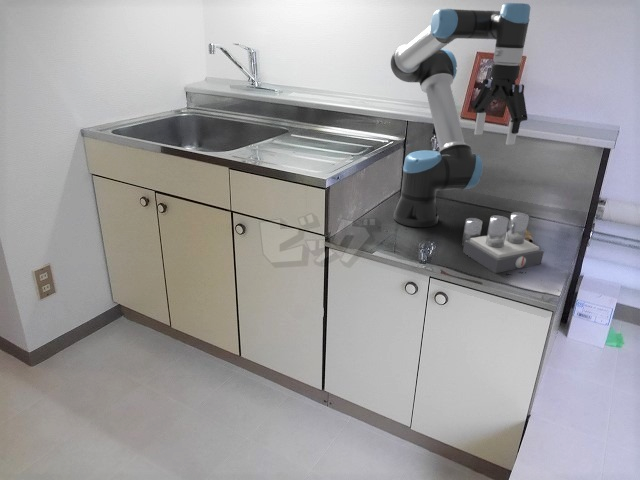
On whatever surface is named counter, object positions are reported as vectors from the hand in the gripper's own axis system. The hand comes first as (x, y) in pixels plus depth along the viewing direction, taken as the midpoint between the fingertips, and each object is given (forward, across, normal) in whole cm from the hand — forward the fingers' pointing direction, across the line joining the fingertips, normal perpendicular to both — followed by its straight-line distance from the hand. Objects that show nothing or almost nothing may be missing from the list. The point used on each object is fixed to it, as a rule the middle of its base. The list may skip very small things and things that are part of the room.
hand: (493, 139), depth 152 cm
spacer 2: (+27, +15, -7) cm, 31 cm away
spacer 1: (+32, +4, -6) cm, 33 cm away
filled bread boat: (+32, +6, +12) cm, 35 cm away
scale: (+32, +15, -4) cm, 35 cm away
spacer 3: (+27, +15, 0) cm, 31 cm away
